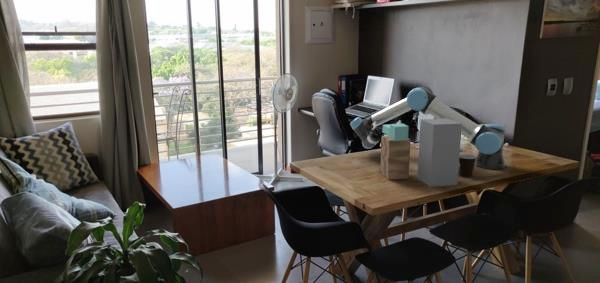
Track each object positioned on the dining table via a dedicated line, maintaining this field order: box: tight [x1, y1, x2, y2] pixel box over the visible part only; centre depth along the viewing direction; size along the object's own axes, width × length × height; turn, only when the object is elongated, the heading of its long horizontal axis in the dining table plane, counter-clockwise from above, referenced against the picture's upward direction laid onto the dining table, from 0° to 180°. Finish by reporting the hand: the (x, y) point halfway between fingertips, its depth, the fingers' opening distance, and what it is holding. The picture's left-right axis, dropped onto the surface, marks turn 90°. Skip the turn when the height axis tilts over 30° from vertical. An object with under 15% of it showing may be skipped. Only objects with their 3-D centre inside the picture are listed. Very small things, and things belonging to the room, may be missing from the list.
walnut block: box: [379, 135, 411, 180], centre depth 227 cm, size 11×11×20 cm
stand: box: [417, 118, 462, 188], centre depth 216 cm, size 14×14×30 cm
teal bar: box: [382, 123, 409, 141], centre depth 228 cm, size 21×7×7 cm, turn 10°
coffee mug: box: [458, 154, 477, 178], centre depth 229 cm, size 12×9×10 cm
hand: (388, 123), depth 234 cm, fingers open, 13 cm apart
